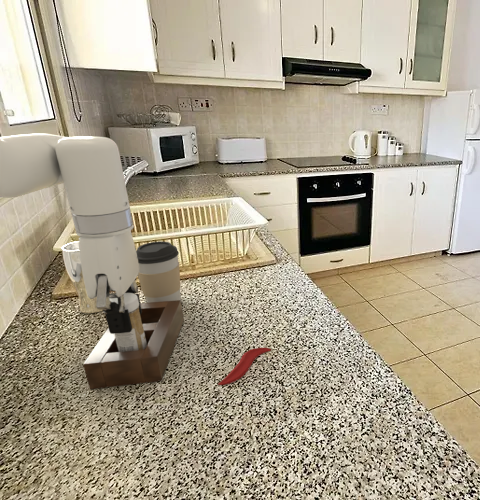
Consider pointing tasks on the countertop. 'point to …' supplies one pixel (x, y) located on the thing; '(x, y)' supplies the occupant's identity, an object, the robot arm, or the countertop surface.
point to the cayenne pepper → (243, 365)
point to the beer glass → (78, 277)
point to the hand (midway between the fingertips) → (126, 322)
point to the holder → (138, 361)
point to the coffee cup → (159, 271)
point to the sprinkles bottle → (137, 335)
